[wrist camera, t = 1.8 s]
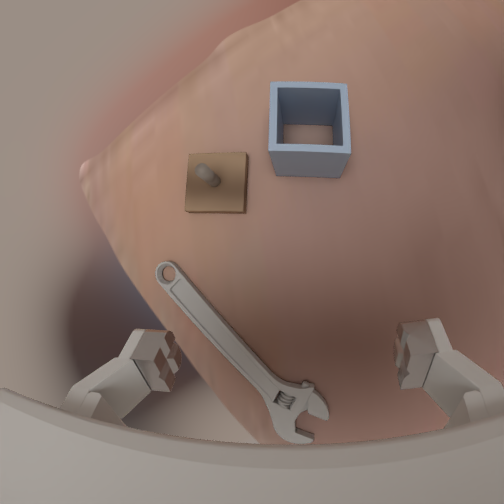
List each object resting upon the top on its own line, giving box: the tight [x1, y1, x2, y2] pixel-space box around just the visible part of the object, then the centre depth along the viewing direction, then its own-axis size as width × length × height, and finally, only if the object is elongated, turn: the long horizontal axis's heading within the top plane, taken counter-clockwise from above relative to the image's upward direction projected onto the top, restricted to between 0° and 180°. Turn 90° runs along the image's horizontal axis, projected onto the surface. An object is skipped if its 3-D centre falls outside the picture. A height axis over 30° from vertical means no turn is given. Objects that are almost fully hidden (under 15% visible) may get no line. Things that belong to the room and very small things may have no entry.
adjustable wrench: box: [155, 262, 329, 444], centre depth 32 cm, size 25×6×2 cm, turn 39°
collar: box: [268, 82, 351, 178], centre depth 27 cm, size 6×6×8 cm
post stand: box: [185, 152, 248, 214], centre depth 30 cm, size 6×6×6 cm
